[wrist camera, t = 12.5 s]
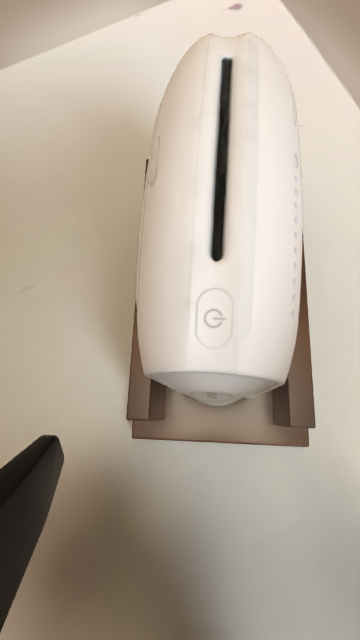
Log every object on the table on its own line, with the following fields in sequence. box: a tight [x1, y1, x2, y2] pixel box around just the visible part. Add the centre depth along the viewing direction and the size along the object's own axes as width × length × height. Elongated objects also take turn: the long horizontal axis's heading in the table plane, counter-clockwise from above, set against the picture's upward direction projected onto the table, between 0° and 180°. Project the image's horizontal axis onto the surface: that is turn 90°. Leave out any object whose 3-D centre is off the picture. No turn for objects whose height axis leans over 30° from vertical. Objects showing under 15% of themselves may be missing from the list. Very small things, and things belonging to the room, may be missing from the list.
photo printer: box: [136, 32, 302, 406], centre depth 13 cm, size 10×4×12 cm, turn 175°
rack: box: [126, 159, 315, 447], centre depth 18 cm, size 14×9×5 cm, turn 178°
